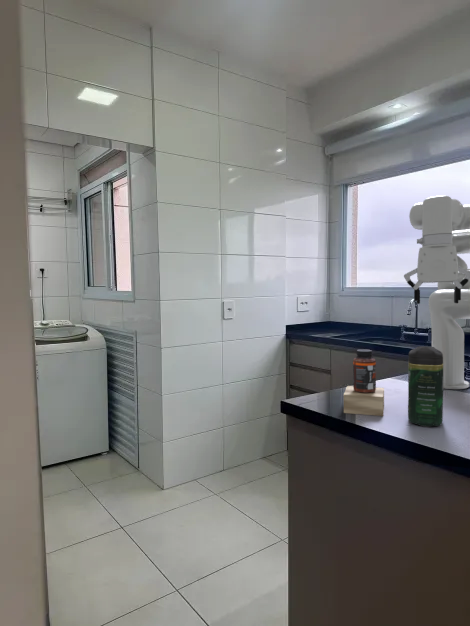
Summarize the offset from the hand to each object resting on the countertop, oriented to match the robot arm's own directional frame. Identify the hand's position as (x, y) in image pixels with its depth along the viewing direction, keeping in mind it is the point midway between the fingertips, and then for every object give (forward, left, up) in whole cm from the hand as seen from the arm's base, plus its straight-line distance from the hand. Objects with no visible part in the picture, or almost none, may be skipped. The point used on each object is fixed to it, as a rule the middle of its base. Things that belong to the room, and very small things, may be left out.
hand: (436, 303), depth 118 cm
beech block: (+12, -19, -28) cm, 36 cm away
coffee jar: (+19, -4, -28) cm, 34 cm away
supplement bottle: (+12, -19, -24) cm, 32 cm away
